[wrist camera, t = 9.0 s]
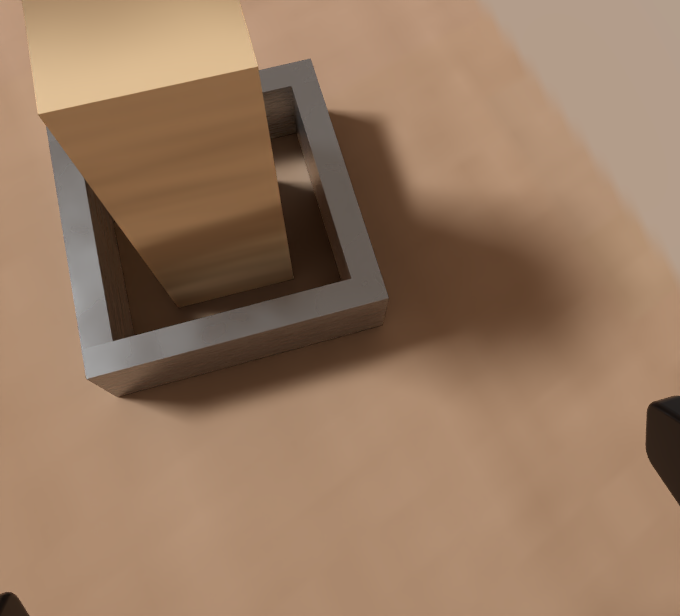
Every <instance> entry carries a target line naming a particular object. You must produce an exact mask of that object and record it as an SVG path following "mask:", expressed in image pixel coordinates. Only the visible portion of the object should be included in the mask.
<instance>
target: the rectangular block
mask: <svg viewBox="0 0 680 616" xmlns="http://www.w3.org/2000/svg"><path fill="white" fill-rule="evenodd" d="M22 6H23V13H24V20H25V27H26V34H27V41H28V49H29V56H30V63H31V70H32V77H33V84H34V91H35V98H36V105H37V112H38V115H39V117H40V118H41V119H42V121H43V122H44V123H45V125H46V126H47V128H48V129H49V130H50V132H51V133H52V134H53V136H54V137H55V139H56V140H57V141H58V143H59V144H60V146H61V147H62V148H63V150H64V151H65V152H66V154H67V155H68V157H69V158H70V159H71V161H72V162H73V163H74V165H75V166H76V168H77V169H78V170H79V172H80V173H81V174H82V176H83V177H84V179H85V180H86V181H87V183H88V184H89V186H90V187H91V188H92V190H93V191H94V192H95V194H96V195H97V197H98V198H99V199H100V201H101V202H102V203H103V205H104V206H105V208H106V209H107V210H108V212H109V213H110V215H111V216H112V217H113V219H114V220H115V221H116V223H117V224H118V226H119V227H120V228H121V230H122V231H123V232H124V234H125V235H126V237H127V238H128V239H129V241H130V242H131V243H132V245H133V246H134V248H135V249H136V250H137V252H138V253H139V255H140V256H141V257H142V259H143V260H144V261H145V263H146V264H147V266H148V267H149V268H150V270H151V271H152V272H153V274H154V275H155V277H156V278H157V279H158V281H159V282H160V283H161V285H162V286H163V288H164V289H165V290H166V292H167V293H168V295H169V296H170V297H171V299H172V300H173V301H174V303H175V304H176V306H177V307H178V308H180V307H184V306H188V305H192V304H196V303H200V302H204V301H208V300H212V299H216V298H220V297H224V296H228V295H232V294H236V293H240V292H244V291H248V290H252V289H256V288H260V287H264V286H268V285H272V284H276V283H280V282H284V281H288V280H292V279H294V277H293V271H292V265H291V259H290V253H289V247H288V242H287V236H286V230H285V224H284V218H283V212H282V206H281V200H280V194H279V188H278V182H277V176H276V170H275V164H274V159H273V153H272V147H271V141H270V135H269V129H268V123H267V117H266V111H265V105H264V99H263V93H262V87H261V81H260V76H259V70H258V65H257V61H256V58H255V54H254V51H253V47H252V43H251V40H250V36H249V33H248V29H247V26H246V22H245V18H244V15H243V11H242V8H241V4H240V1H239V0H22Z"/></svg>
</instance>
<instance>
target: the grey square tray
mask: <svg viewBox="0 0 680 616" xmlns="http://www.w3.org/2000/svg"><path fill="white" fill-rule="evenodd" d="M259 76H260V81H261V87H262V93H263V99H264V105H265V111H266V117H267V123H268V129H269V135H270V139H272V138H276V137H280V136H284V135H289V134H293V133H297V137H298V140H299V143H300V146H301V150H302V153H303V156H304V160H305V163H306V166H307V169H308V173H309V176H310V179H311V183H312V186H313V189H314V192H315V196H316V199H317V202H318V206H319V209H320V212H321V215H322V219H323V222H324V225H325V229H326V232H327V235H328V238H329V242H330V245H331V248H332V252H333V255H334V258H335V261H336V265H337V268H338V271H339V275H340V278H341V281H340V282H337V283H333V284H329V285H325V286H321V287H318V288H314V289H310V290H306V291H302V292H298V293H295V294H291V295H287V296H283V297H279V298H276V299H272V300H268V301H264V302H260V303H257V304H253V305H249V306H245V307H241V308H238V309H234V310H230V311H226V312H222V313H219V314H215V315H211V316H207V317H203V318H200V319H196V320H192V321H188V322H184V323H181V324H177V325H173V326H169V327H165V328H162V329H158V330H154V331H150V332H146V333H142V334H139V335H134V330H133V324H132V319H131V314H130V308H129V303H128V298H127V292H126V287H125V282H124V276H123V271H122V266H121V260H120V255H119V250H118V244H117V239H116V234H115V228H114V223H113V218H112V216H111V215H110V213H109V212H108V210H107V209H106V208H105V206H104V205H103V203H102V202H101V201H100V199H99V198H98V197H97V195H96V194H95V192H94V191H93V190H92V188H91V187H90V186H89V184H88V183H87V181H86V180H85V179H84V177H83V176H82V174H81V173H80V172H79V170H78V169H77V168H76V166H75V165H74V163H73V162H72V161H71V159H70V158H69V157H68V155H67V154H66V152H65V151H64V150H63V148H62V147H61V146H60V144H59V143H58V141H57V140H56V139H55V137H54V136H53V134H52V133H51V132H50V130H49V129H48V128H47V126H46V128H47V135H48V141H49V147H50V154H51V160H52V166H53V172H54V179H55V185H56V191H57V198H58V204H59V210H60V216H61V223H62V229H63V235H64V242H65V248H66V254H67V260H68V267H69V273H70V279H71V286H72V292H73V298H74V304H75V311H76V317H77V323H78V330H79V336H80V342H81V348H82V355H83V361H84V367H85V374H86V379H87V380H89V381H91V382H92V383H94V384H96V385H98V386H99V387H101V388H103V389H104V390H106V391H108V392H110V393H111V394H113V395H115V396H116V397H119V396H123V395H126V394H130V393H134V392H137V391H141V390H145V389H149V388H152V387H156V386H160V385H163V384H167V383H171V382H174V381H178V380H182V379H185V378H189V377H193V376H197V375H200V374H204V373H208V372H211V371H215V370H219V369H222V368H226V367H230V366H233V365H237V364H241V363H244V362H248V361H252V360H256V359H259V358H263V357H267V356H270V355H274V354H278V353H281V352H285V351H289V350H292V349H296V348H300V347H303V346H307V345H311V344H315V343H318V342H322V341H326V340H329V339H333V338H337V337H340V336H344V335H348V334H351V333H355V332H359V331H362V330H366V329H370V328H374V327H377V326H381V325H383V321H384V317H385V313H386V308H387V304H388V300H389V297H388V294H387V291H386V288H385V285H384V282H383V279H382V276H381V272H380V269H379V266H378V263H377V260H376V257H375V254H374V251H373V248H372V245H371V242H370V239H369V236H368V233H367V230H366V227H365V224H364V221H363V217H362V214H361V211H360V208H359V205H358V202H357V199H356V196H355V193H354V190H353V187H352V184H351V181H350V178H349V175H348V172H347V169H346V166H345V162H344V159H343V156H342V153H341V150H340V147H339V144H338V141H337V138H336V135H335V132H334V129H333V126H332V123H331V120H330V117H329V114H328V110H327V107H326V104H325V101H324V98H323V95H322V92H321V89H320V86H319V83H318V80H317V77H316V74H315V71H314V68H313V65H312V62H311V59H307V60H302V61H298V62H293V63H289V64H285V65H280V66H276V67H272V68H267V69H263V70H259Z"/></svg>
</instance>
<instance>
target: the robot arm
mask: <svg viewBox="0 0 680 616" xmlns="http://www.w3.org/2000/svg"><path fill="white" fill-rule="evenodd" d="M646 452H647V455H648V458H649V460H650V462H651V464H652V466H653V467H654V469H655V470H656V472H657V473H658V474H659V476H660V477H661V479H662V480H663V482H664V483H665V485H666V486H667V488H668V489H669V491H670V492H671V494H672V495H673V497H674V498H675V499H676V501H677V502H678V504H679V505H680V396H671V397H668V398H665V399H661V400H658V401H654V402H652V403H651V404H650V405H649V407H648V409H647V421H646ZM0 616H29V614H28V613H27V611H26V609H25V608H24V606H23V605H22V603H21V601H20V600H19V598H18V597H17V596H16V595H15V594H13V593H11V592H5V593H2V594H0Z"/></svg>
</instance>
